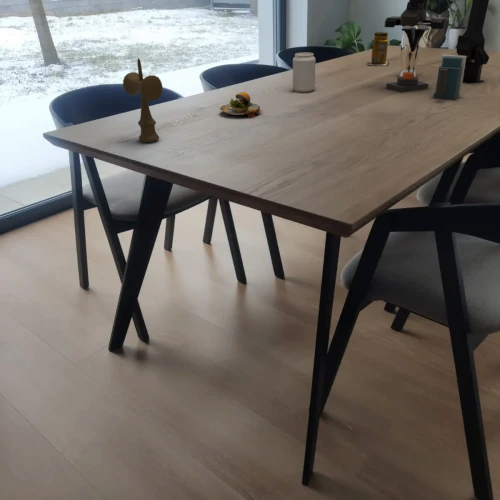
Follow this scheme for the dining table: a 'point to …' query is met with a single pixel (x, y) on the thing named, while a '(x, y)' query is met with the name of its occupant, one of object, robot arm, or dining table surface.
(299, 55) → the can
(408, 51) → the beer glass
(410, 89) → the switch block
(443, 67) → the iron
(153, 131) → the kendama
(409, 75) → the power button
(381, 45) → the condiment
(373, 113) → the dining table surface
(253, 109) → the burger
